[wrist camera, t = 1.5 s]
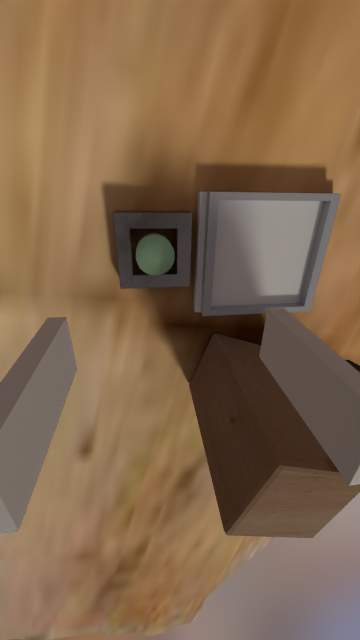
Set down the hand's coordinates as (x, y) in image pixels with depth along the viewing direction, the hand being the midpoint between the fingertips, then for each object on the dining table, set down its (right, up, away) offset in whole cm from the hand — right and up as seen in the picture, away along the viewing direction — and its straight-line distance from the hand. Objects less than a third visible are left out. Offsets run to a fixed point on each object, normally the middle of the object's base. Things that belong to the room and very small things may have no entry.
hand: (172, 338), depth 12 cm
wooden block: (+8, -6, +28) cm, 29 cm away
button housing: (-3, +9, +18) cm, 20 cm away
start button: (-2, +8, +16) cm, 19 cm away
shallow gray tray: (+10, +9, +20) cm, 24 cm away
